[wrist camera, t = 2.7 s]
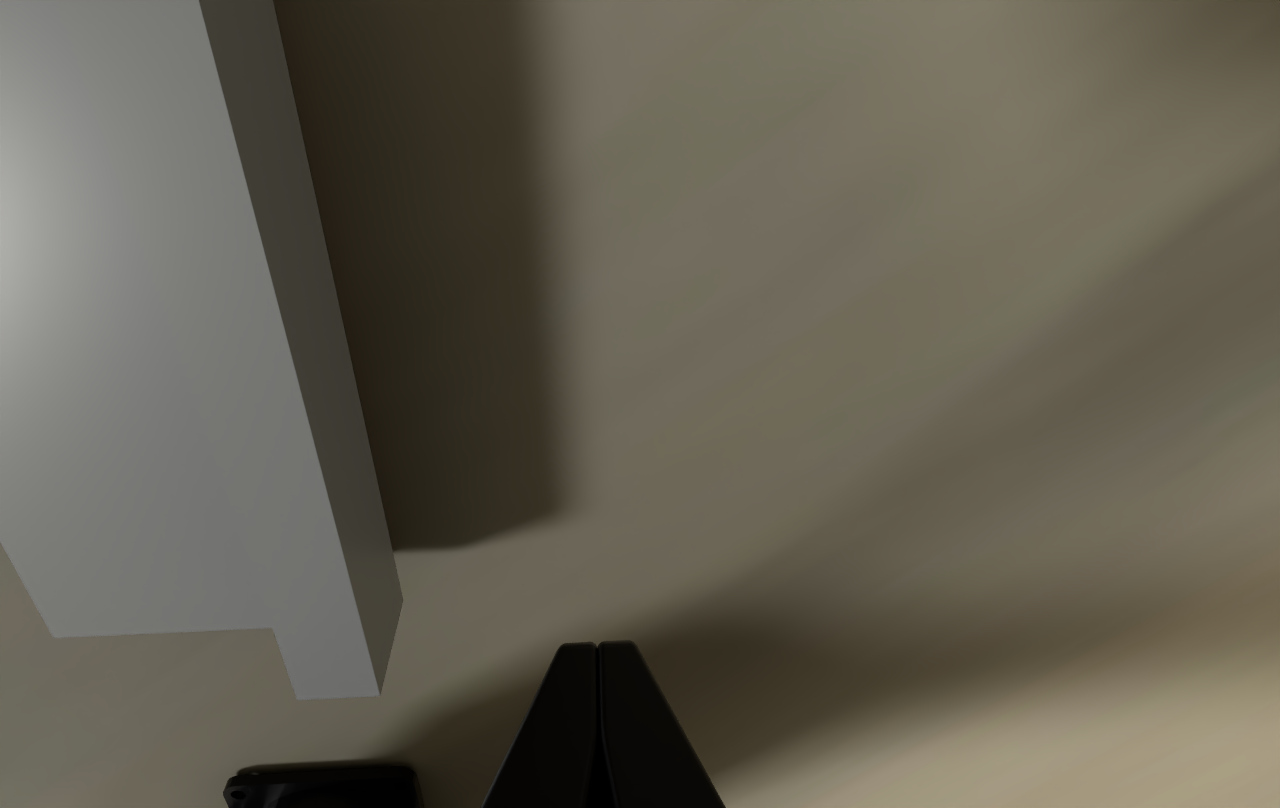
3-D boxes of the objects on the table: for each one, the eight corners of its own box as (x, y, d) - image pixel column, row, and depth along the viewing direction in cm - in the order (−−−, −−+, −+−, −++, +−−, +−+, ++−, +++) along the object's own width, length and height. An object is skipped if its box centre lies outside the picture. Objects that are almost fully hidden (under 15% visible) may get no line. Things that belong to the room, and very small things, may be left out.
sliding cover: (212, -276, 13) (117, -313, 10) (403, 600, 23) (380, 696, 21) (-402, -279, 13) (-672, -319, 10) (69, 615, 23) (0, 715, 20)
